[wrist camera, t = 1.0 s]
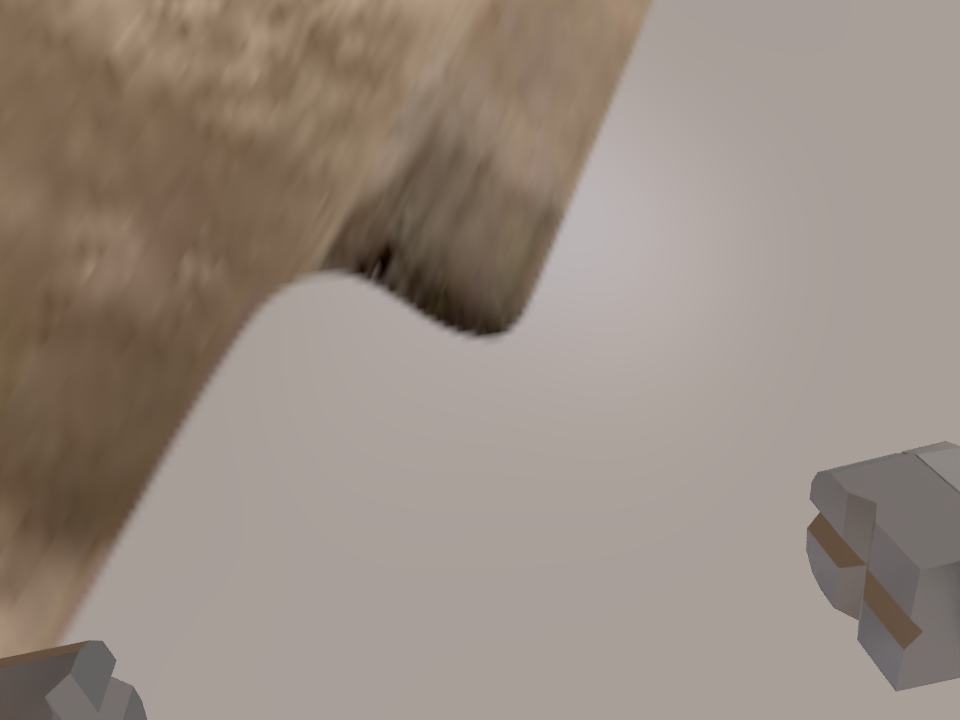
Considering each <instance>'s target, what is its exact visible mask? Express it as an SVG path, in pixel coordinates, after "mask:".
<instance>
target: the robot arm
mask: <svg viewBox="0 0 960 720" xmlns="http://www.w3.org/2000/svg"><path fill="white" fill-rule="evenodd" d="M810 500H811V501H812V502H813V504H814V505H815V506H816V507H817V508H818V510H819V511H820V513H819V514H818V515H817V517H816V518H815V519H814V520H813V522H812V523H811V524H810V525H809V527H808V528H807V547H806V550H807V554H808V557H809V561H810V565H811V569H812V572H813V575H814V577H815V579H816V581H817V583H818V585H819V587H820V589H821V590H822V591H823V593H824V595H825V596H826V597H827V599H828V600H829V602H830V603H831V604H832V606H833V607H834V608H835V609H838V610H839V611H841V612H843V613H845V614H847V615H849V616H851V617H853V618H855V619H857V620H859V625H858V641H859V643H860V644H861V645H862V647H863V648H864V649H865V650H866V652H867V653H868V655H869V656H870V657H871V659H872V660H873V661H874V663H875V664H876V665H877V667H878V668H879V669H880V671H881V672H882V673H883V675H884V676H885V677H886V679H887V680H888V681H889V683H890V684H891V685H892V687H893V688H894V689H895V691H900V690H905V689H910V688H914V687H918V686H923V685H928V684H933V683H937V682H942V681H946V680H951V679H956V678H960V446H958V445H956V444H952V443H950V442H947V441H944V442H940V443H936V444H932V445H928V446H924V447H919V448H916V449H912V450H907V451H903V452H902V453H897V454H896V453H895V454H891V455H887V456H883V457H879V458H875V459H870V460H866V461H862V462H858V463H854V464H850V465H846V466H841V467H837V468H833V469H829V470H825V471H821V472H818V473H817V474H816V476H815V478H814V479H813V481H812V485H811V494H810ZM115 663H116V659H115V658H114V656H113V655H112V653H111V652H110V651H109V649H108V648H107V646H106V645H105V644H104V642H103V641H85V642H80V643H75V644H70V645H65V646H60V647H56V648H51V649H46V650H41V651H36V652H31V653H26V654H21V655H17V656H12V657H7V658H2V659H0V720H147V717H146V714H145V710H144V707H143V704H142V700H141V699H140V697H139V695H138V694H137V692H136V691H135V689H134V687H133V686H131V685H129V684H127V683H125V682H123V681H120V680H118V679H115V678H113V677H111V675H112V672H113V669H114V666H115Z"/></svg>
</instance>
